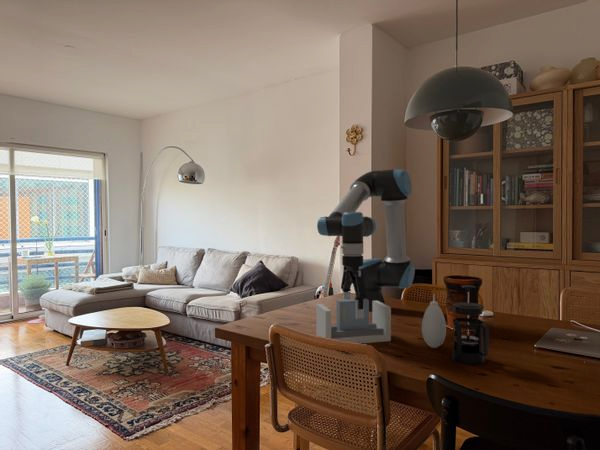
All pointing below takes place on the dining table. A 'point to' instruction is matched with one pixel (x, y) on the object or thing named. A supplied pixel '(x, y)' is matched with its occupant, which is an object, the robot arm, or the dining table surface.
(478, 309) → the french press
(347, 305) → the sliding door panel
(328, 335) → the door track
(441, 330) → the white air blower bulb
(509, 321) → the dining table surface
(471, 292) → the vessel
